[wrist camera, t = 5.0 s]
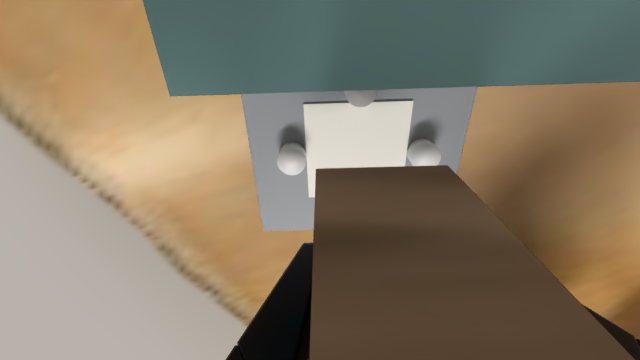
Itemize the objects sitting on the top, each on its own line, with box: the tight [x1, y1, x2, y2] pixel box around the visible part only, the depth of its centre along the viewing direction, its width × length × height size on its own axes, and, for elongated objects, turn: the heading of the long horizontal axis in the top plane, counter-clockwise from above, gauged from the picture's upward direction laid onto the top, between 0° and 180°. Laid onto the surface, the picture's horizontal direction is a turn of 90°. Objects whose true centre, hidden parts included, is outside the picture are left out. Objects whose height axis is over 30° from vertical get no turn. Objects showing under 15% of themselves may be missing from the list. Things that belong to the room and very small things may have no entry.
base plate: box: [241, 87, 477, 231], centre depth 13 cm, size 17×11×2 cm, turn 2°
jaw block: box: [310, 165, 635, 360], centre depth 7 cm, size 4×4×6 cm
